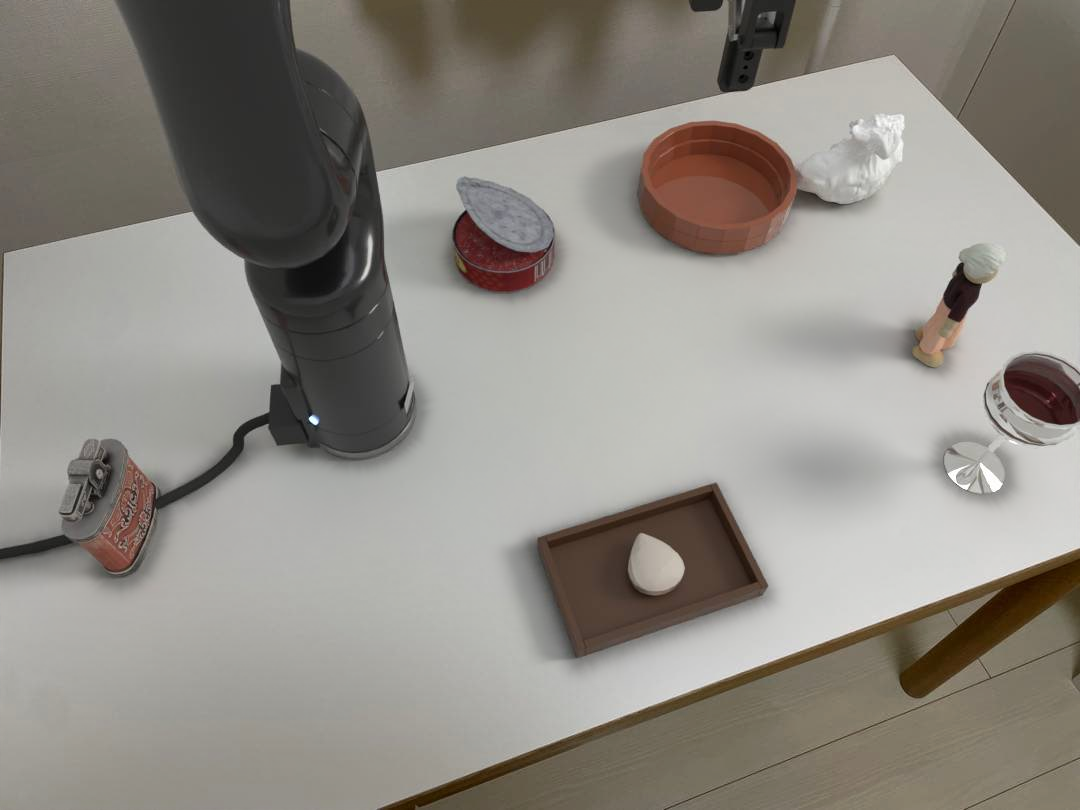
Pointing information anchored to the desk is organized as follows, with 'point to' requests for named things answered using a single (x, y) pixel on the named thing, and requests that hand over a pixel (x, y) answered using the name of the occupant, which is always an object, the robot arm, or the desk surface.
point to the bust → (855, 161)
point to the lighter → (109, 506)
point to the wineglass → (1019, 416)
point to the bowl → (716, 187)
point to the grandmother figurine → (957, 301)
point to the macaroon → (654, 566)
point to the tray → (603, 582)
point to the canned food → (501, 237)
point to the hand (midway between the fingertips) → (718, 47)
